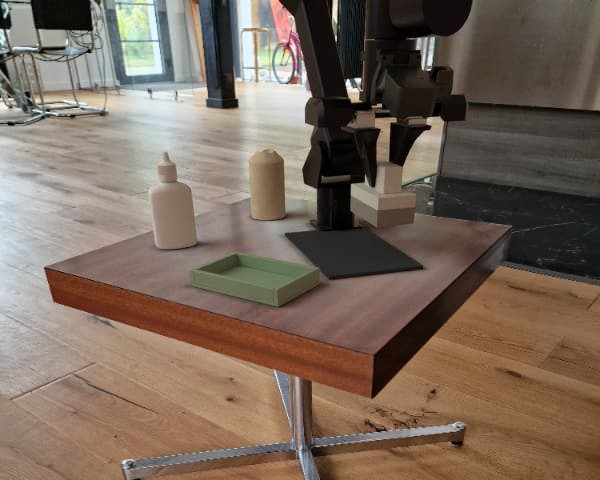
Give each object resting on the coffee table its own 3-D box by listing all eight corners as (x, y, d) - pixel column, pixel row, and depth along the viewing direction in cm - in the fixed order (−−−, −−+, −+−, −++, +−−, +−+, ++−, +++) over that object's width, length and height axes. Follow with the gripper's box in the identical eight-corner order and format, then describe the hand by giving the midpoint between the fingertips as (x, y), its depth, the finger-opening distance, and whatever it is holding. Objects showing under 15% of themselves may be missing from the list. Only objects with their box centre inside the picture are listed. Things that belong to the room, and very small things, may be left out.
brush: (350, 211, 77) (351, 159, 73) (384, 207, 78) (387, 156, 74) (376, 227, 69) (379, 170, 66) (414, 223, 70) (418, 168, 67)
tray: (191, 286, 65) (189, 269, 64) (236, 266, 71) (235, 251, 70) (278, 307, 59) (277, 289, 58) (320, 283, 65) (320, 267, 64)
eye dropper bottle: (161, 241, 81) (148, 149, 75) (200, 241, 80) (190, 149, 74) (152, 250, 77) (137, 154, 71) (192, 250, 77) (181, 154, 70)
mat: (284, 235, 82) (284, 232, 82) (362, 228, 85) (362, 225, 85) (329, 279, 66) (329, 276, 66) (423, 268, 69) (423, 265, 69)
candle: (264, 211, 96) (261, 146, 90) (291, 214, 93) (290, 148, 88) (244, 218, 92) (240, 151, 86) (273, 222, 89) (270, 153, 84)
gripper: (336, 38, 55) (333, 206, 63) (505, 36, 59) (482, 193, 67) (302, 41, 64) (304, 187, 72) (451, 39, 68) (437, 177, 76)
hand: (382, 186), depth 72 cm, fingers closed on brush, 2 cm apart
